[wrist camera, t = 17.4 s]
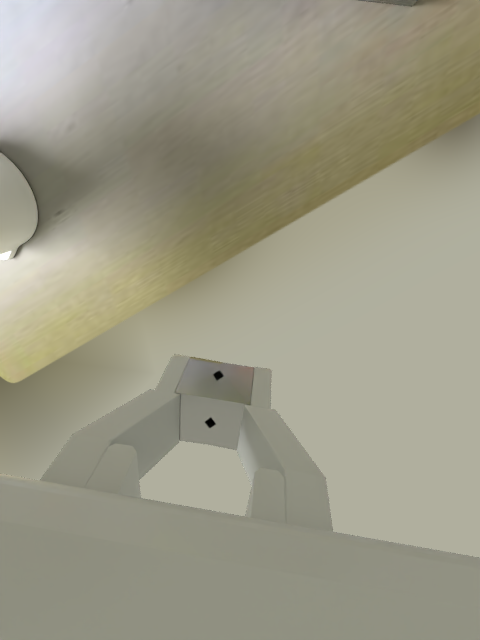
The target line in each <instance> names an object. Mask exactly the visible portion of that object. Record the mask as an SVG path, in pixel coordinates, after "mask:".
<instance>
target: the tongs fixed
mask: <svg viewBox="0 0 480 640" xmlns="http://www.w3.org/2000/svg"><path fill="white" fill-rule="evenodd" d="M360 1H369V2H377V3H386V4H395V5H403V6H413V5H414V4H415V3H416V2H417V0H360Z"/></svg>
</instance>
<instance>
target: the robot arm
mask: <svg viewBox="0 0 480 640" xmlns="http://www.w3.org/2000/svg"><path fill="white" fill-rule="evenodd" d="M37 221H38V211H37V205H36V201H35V198H34V195H33V192H32V190H31V188H30V186H29V184H28V182H27V181H26V179H25V177H24V176H23V175H22V173H21V172H20V171H19V169H18V168H17V167H16V166H15V165H14V164H13V163H12V162H11V161H10V160H9V159H8V158H7V157H6V156H4V155H3V154H2V153H1V152H0V259H1V260H9V259H12V258H13V257H14V255H15V253H16V251H17V249H18V247H19V246H20V245H22V244H23V243H25V242H26V241H28V240H29V239H30V238H31V237H32V235H33V234H34V232H35V230H36V226H37ZM270 406H271V370H270V369H267V368H258V367H248V366H242V365H236V364H229V363H222V362H218V361H212V360H206V359H201V358H195V357H189V356H182V355H176V354H174V355H173V356H172V357H171V359H170V361H169V363H168V365H167V367H166V369H165V371H164V373H163V375H162V377H161V379H160V381H159V383H158V385H157V387H156V389H155V390H151V389H150V390H148V391H146V392H144V393H143V394H141V395H139V396H138V397H136V398H134V399H132V400H131V401H129V402H127V403H126V404H124V405H122V406H120V407H119V408H117V409H115V410H113V411H112V412H110V413H108V414H106V415H105V416H103V417H101V418H100V419H98V420H96V421H94V422H93V423H91V424H89V425H87V426H86V427H84V428H82V429H81V430H79V431H77V432H75V433H74V434H72V436H71V437H70V438H69V440H68V441H67V443H66V444H65V445H64V447H63V448H62V450H61V451H60V452H59V454H58V455H57V457H56V458H55V460H54V461H53V462H52V464H51V465H50V467H49V468H48V470H47V471H46V472H45V474H44V475H43V477H42V478H41V479H40V480H35V479H29V478H23V477H18V476H12V475H6V474H0V640H480V558H479V557H473V556H468V555H461V554H456V553H451V552H445V551H439V550H433V549H428V548H422V547H416V546H411V545H405V544H399V543H393V542H388V541H382V540H376V539H371V538H365V537H360V536H354V535H348V534H342V533H337V532H333V528H332V520H331V514H330V507H329V499H328V492H327V485H326V478H325V476H324V475H323V473H322V472H321V471H320V469H319V468H318V467H317V465H316V464H315V463H314V461H313V460H312V459H311V457H310V456H309V454H308V453H307V452H306V450H305V449H304V448H303V446H302V445H301V444H300V442H299V441H298V440H297V438H296V437H295V435H294V434H293V433H292V431H291V430H290V429H289V427H288V426H287V425H286V423H285V422H284V421H283V419H282V418H281V417H280V415H279V414H278V413H277V411H276V410H274V409H270ZM179 441H186V442H193V443H201V444H208V445H213V446H218V447H223V448H228V449H233V450H237V453H238V455H239V458H240V460H241V462H242V465H243V467H244V469H245V471H246V474H247V476H248V478H249V480H250V483H251V485H252V488H251V492H250V497H249V501H248V505H247V510H246V514H245V516H239V515H234V514H227V513H221V512H216V511H211V510H205V509H199V508H193V507H188V506H182V505H176V504H171V503H165V502H160V501H154V500H148V499H142V498H141V497H140V485H139V480H140V479H141V478H142V477H143V476H144V475H145V474H146V473H147V472H148V471H149V470H150V469H151V468H152V467H153V466H155V465H156V464H157V463H158V462H159V461H160V460H161V459H162V458H163V457H164V456H165V455H166V454H167V453H168V452H169V451H170V450H172V449H173V448H174V447H175V446H176V445H177V444H178V443H179Z"/></svg>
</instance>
